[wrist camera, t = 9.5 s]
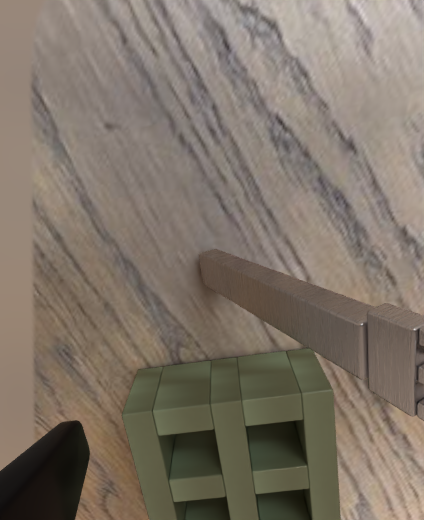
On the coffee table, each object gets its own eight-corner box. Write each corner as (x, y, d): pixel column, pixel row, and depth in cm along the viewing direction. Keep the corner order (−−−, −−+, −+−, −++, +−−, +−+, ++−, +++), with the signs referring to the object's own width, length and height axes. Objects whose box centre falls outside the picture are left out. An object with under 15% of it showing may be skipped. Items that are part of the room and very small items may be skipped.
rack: (180, 546, 22) (173, 615, 19) (137, 368, 19) (120, 415, 15) (325, 532, 22) (345, 600, 19) (311, 347, 18) (333, 389, 15)
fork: (203, 290, 17) (520, 494, 6) (196, 247, 16) (535, 382, 5) (221, 284, 17) (550, 465, 6) (215, 242, 17) (568, 357, 6)
